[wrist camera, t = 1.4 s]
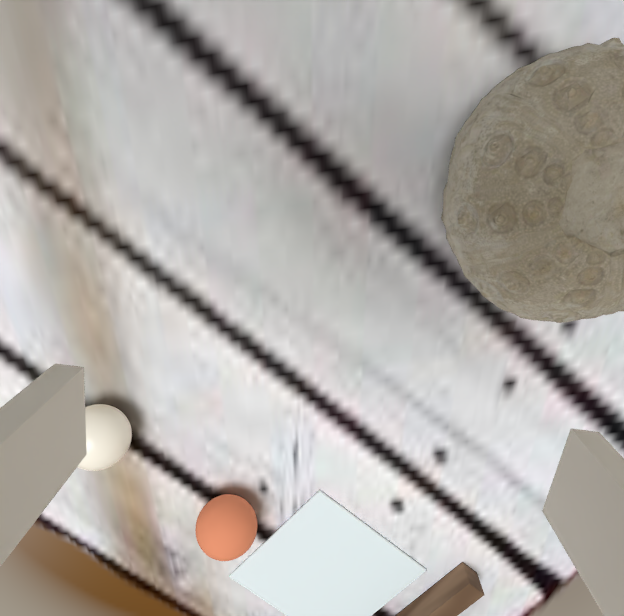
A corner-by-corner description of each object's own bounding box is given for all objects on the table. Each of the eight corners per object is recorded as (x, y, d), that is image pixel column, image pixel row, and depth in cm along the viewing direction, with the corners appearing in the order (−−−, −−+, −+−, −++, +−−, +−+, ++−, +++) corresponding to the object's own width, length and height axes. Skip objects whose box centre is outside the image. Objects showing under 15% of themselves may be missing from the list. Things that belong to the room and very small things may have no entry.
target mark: (229, 575, 49) (228, 577, 49) (319, 489, 46) (319, 491, 45) (332, 645, 52) (332, 646, 51) (426, 568, 48) (426, 570, 48)
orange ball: (192, 507, 47) (175, 552, 41) (227, 471, 45) (214, 513, 40) (237, 538, 48) (226, 585, 42) (272, 503, 46) (265, 548, 41)
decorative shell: (721, 165, 36) (863, 170, 26) (546, 342, 40) (613, 401, 31) (546, 1, 33) (634, -60, 23) (380, 212, 38) (397, 233, 28)
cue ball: (69, 422, 44) (35, 458, 39) (102, 381, 43) (71, 413, 38) (119, 456, 45) (92, 496, 40) (153, 417, 44) (129, 453, 39)
